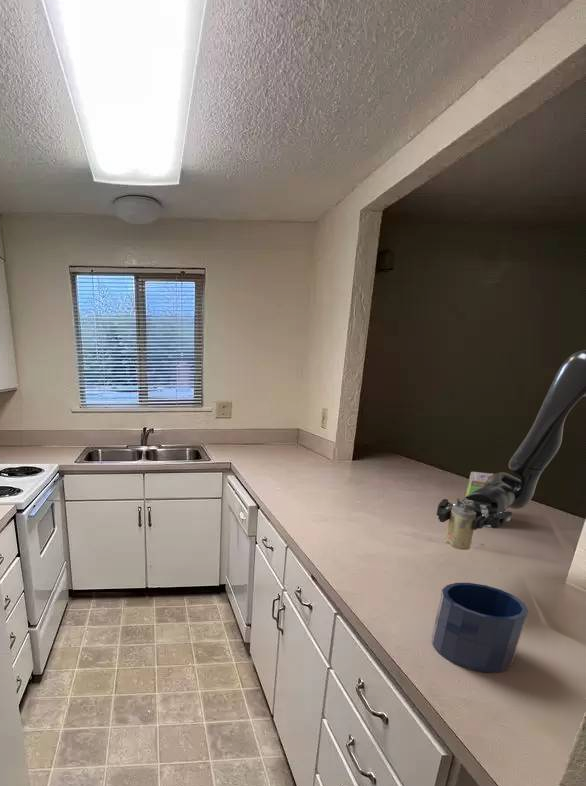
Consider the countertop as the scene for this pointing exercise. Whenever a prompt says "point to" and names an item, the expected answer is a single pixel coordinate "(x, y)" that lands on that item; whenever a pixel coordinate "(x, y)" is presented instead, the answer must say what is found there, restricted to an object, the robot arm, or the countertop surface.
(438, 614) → the pot
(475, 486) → the tea box
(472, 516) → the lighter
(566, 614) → the countertop surface
